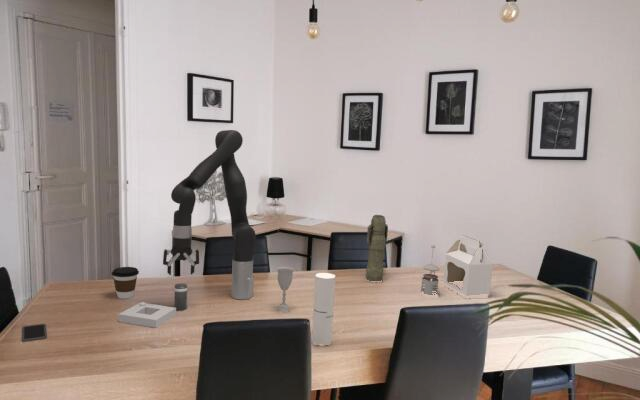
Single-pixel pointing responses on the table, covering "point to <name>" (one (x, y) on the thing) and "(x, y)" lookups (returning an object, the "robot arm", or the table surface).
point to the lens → (180, 297)
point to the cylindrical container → (323, 308)
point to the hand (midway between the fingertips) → (180, 274)
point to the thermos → (376, 247)
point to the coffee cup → (125, 281)
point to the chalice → (284, 284)
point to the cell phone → (34, 332)
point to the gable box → (468, 267)
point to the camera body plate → (147, 314)
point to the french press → (427, 282)
